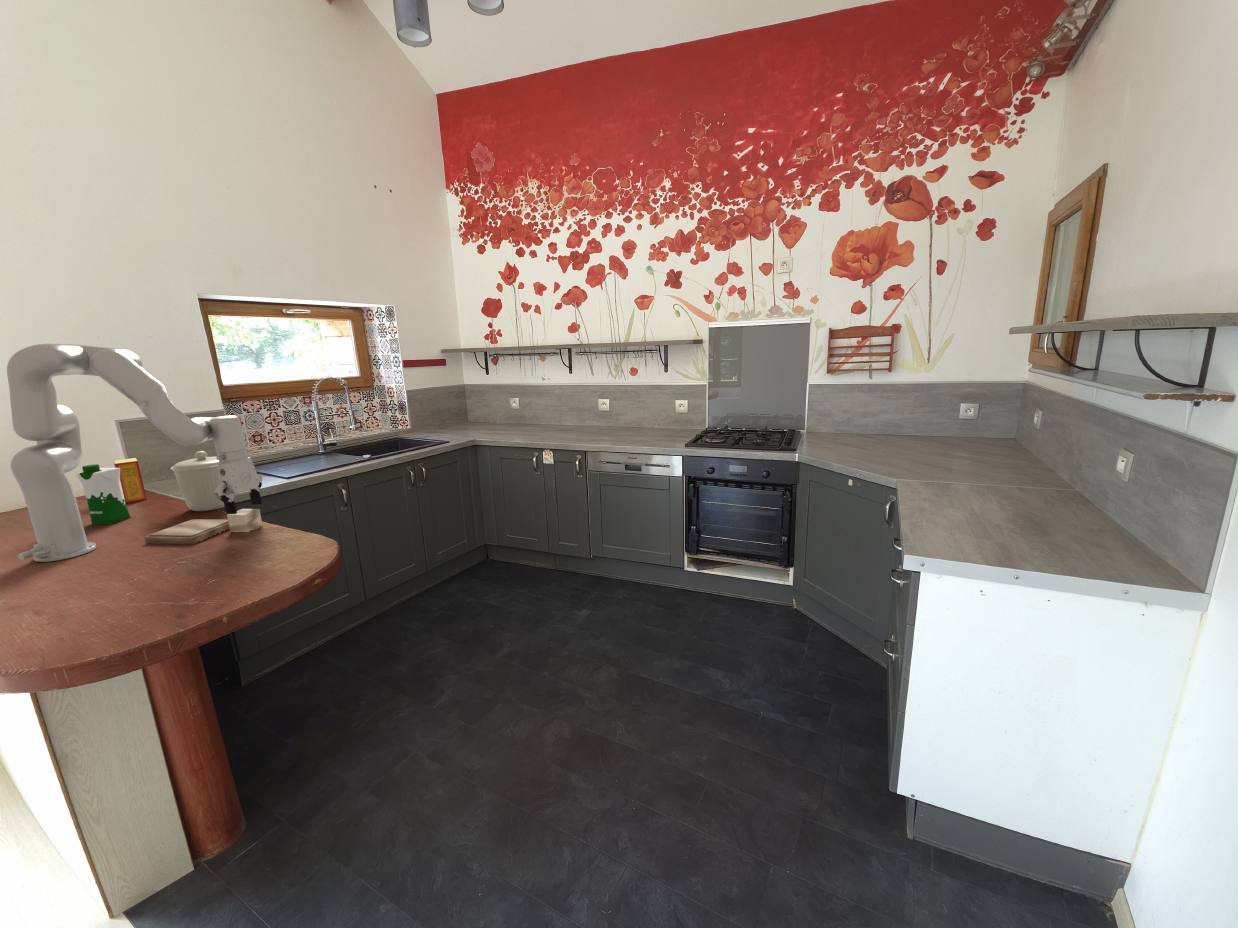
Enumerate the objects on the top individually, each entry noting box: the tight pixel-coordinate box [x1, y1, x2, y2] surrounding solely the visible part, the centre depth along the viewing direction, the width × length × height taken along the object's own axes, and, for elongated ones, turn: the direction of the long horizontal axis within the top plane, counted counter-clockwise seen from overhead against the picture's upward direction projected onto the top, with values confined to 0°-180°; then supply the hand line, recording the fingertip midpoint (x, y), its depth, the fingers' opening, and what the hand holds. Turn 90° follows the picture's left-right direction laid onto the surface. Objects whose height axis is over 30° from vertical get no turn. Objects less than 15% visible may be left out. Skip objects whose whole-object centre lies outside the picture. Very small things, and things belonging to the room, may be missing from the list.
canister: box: [170, 450, 235, 512], centre depth 192 cm, size 18×18×21 cm
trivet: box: [144, 518, 230, 545], centre depth 165 cm, size 16×16×2 cm
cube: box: [226, 508, 263, 533], centre depth 168 cm, size 6×6×6 cm
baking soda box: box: [112, 457, 148, 504], centre depth 206 cm, size 10×6×16 cm
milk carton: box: [76, 463, 132, 525], centre depth 179 cm, size 9×9×20 cm
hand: (244, 508), depth 167 cm, fingers open, 9 cm apart
